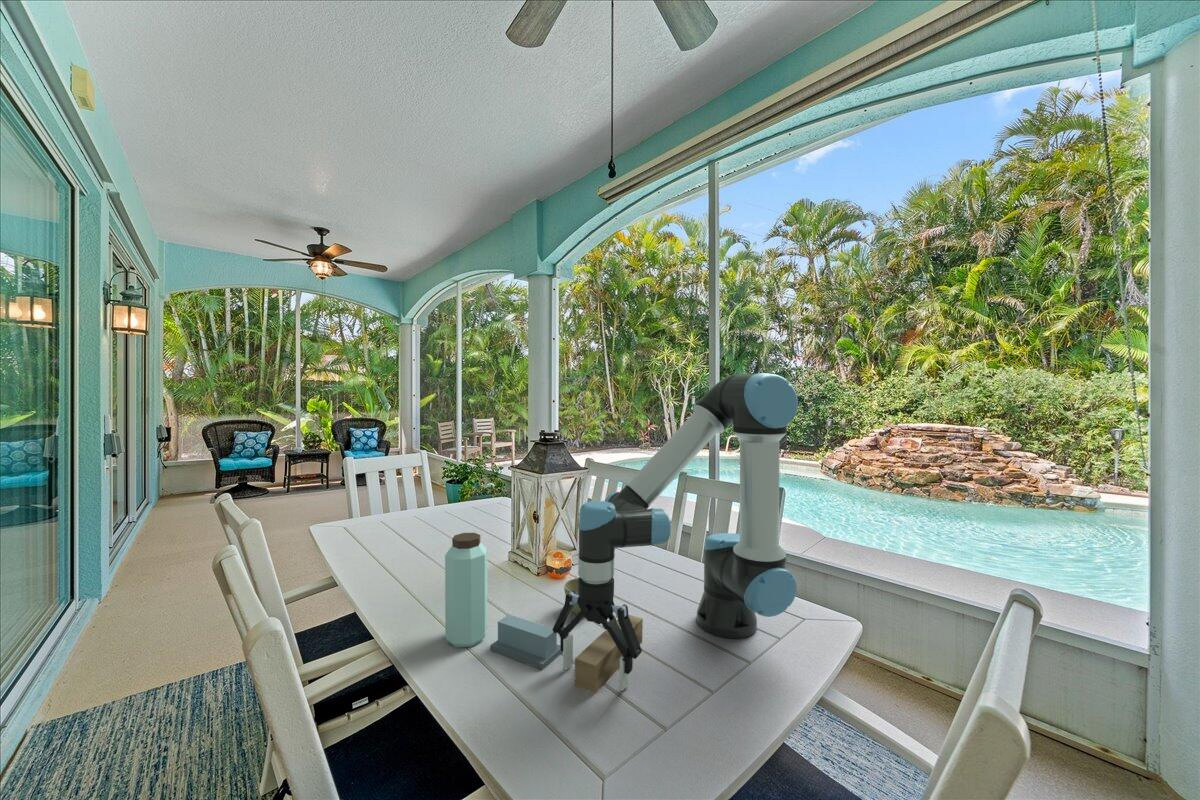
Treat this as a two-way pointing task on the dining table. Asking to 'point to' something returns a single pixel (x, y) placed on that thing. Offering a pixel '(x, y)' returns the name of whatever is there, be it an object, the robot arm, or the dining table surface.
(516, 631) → the ridge
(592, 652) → the walnut bar
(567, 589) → the flower pot
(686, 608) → the dining table surface
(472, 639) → the water bottle
